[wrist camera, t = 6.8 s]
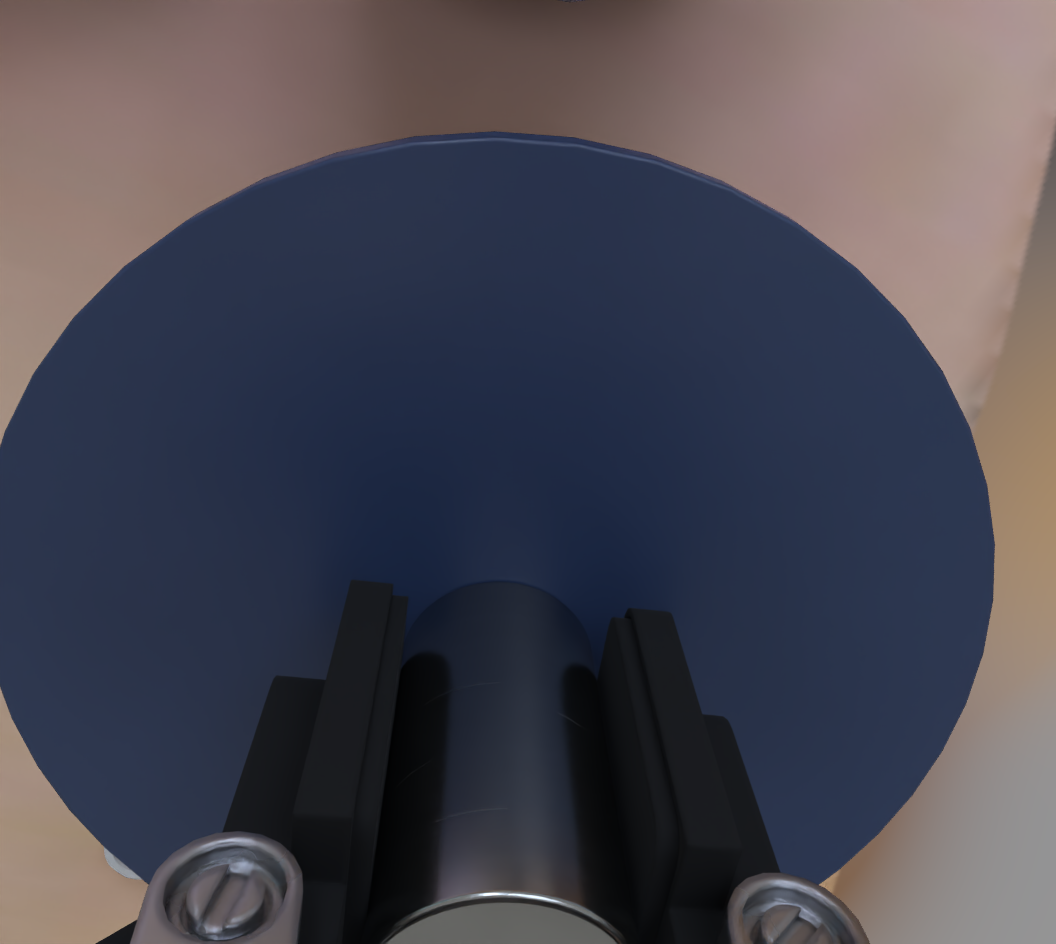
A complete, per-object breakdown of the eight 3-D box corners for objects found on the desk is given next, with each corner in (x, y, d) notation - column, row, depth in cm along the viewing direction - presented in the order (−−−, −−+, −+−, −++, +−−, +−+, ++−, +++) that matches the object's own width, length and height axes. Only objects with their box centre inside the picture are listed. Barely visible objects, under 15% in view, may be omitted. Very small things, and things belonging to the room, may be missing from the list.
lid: (-31, 42, 11) (-610, 69, 5) (1106, 209, 12) (1654, 381, 6) (53, 902, 16) (-174, 1362, 11) (815, 954, 18) (965, 1390, 12)
